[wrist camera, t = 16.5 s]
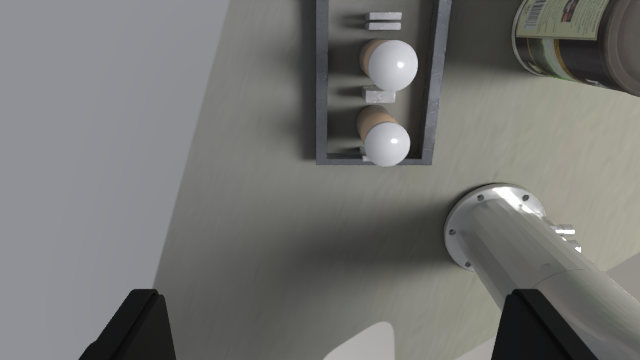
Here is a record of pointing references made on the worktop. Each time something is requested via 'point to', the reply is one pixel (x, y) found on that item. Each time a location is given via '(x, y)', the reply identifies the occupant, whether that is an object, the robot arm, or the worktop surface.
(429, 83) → the frame
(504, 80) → the worktop surface
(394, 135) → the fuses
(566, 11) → the coffee can
